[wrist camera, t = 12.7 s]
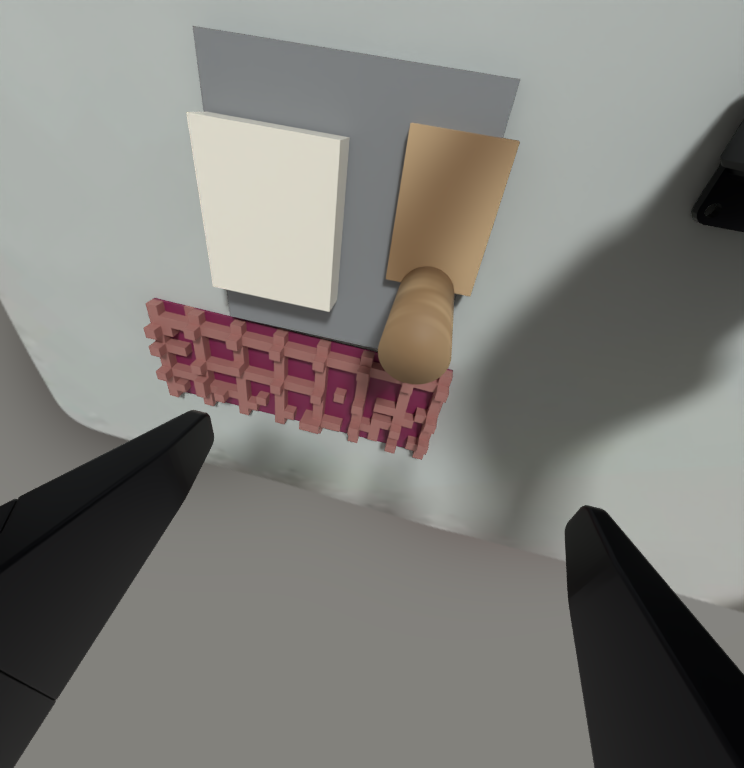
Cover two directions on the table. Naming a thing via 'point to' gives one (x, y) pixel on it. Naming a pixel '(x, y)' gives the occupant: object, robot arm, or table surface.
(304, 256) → the tile
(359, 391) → the red lattice rack
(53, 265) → the table surface
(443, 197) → the turner
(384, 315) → the mat
